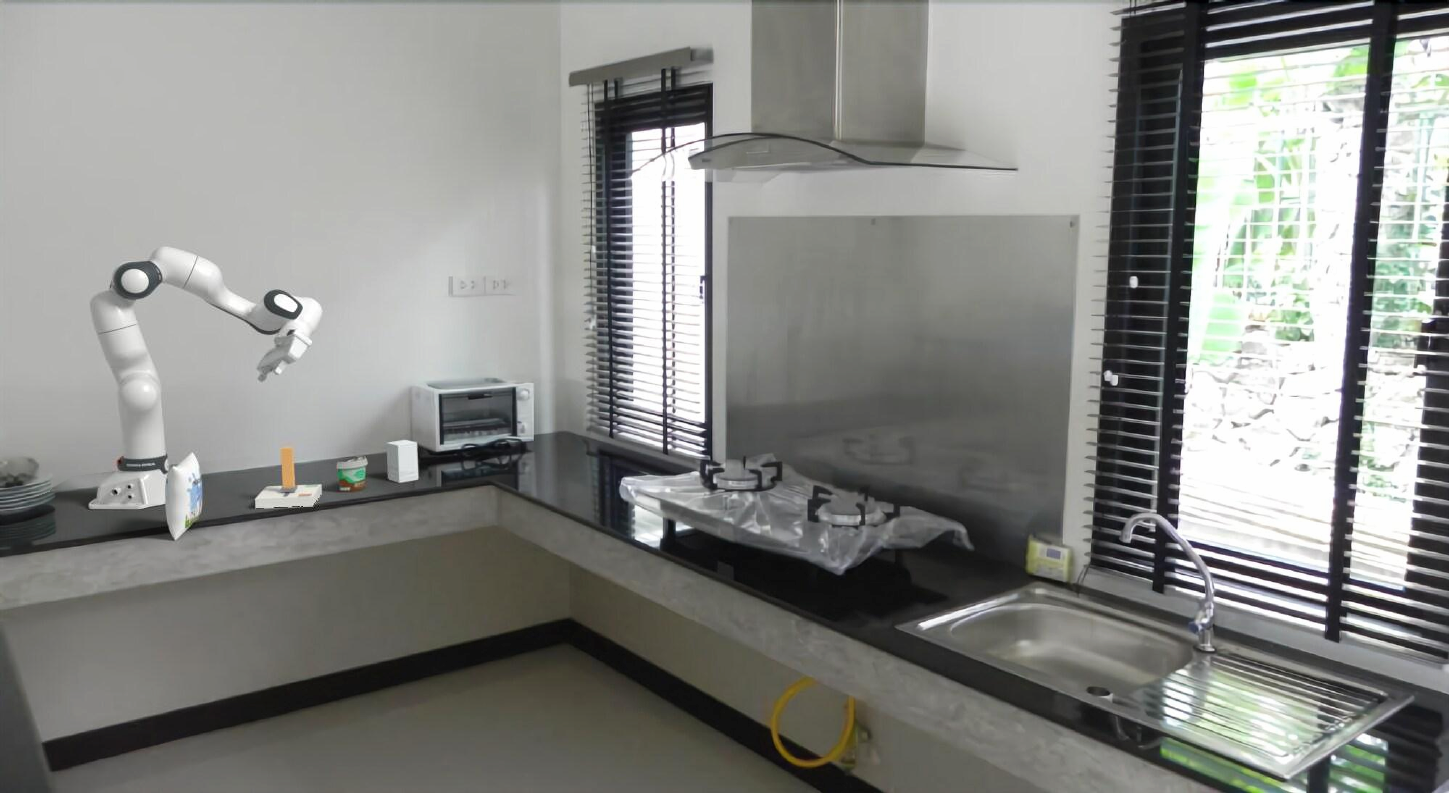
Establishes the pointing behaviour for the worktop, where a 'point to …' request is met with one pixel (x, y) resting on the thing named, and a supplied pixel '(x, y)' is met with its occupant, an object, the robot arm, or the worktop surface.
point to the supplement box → (402, 461)
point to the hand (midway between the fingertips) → (268, 376)
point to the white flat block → (288, 497)
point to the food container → (352, 474)
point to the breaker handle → (288, 470)
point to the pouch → (183, 495)
